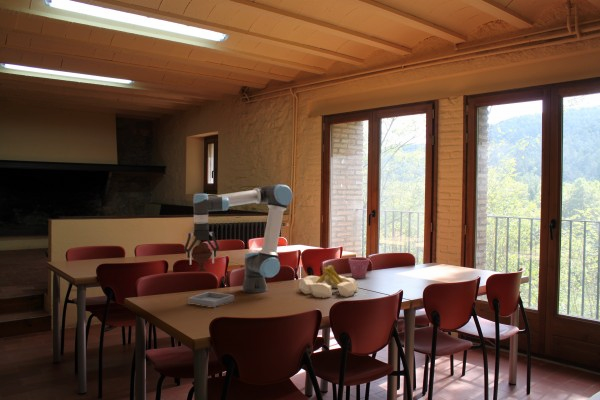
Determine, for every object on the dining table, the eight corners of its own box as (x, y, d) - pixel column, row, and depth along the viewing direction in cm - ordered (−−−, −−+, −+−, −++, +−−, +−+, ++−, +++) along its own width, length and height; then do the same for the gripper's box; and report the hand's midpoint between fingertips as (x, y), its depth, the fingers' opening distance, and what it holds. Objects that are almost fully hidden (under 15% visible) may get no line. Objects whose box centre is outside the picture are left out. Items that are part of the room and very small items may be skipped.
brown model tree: (213, 268, 270) (213, 240, 269) (210, 272, 259) (209, 243, 258) (194, 268, 270) (193, 241, 269) (189, 272, 259) (189, 243, 258)
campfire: (309, 300, 275) (309, 269, 275) (292, 287, 308) (292, 260, 307) (367, 296, 285) (367, 267, 284) (345, 285, 317) (345, 258, 317)
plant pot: (358, 274, 355) (358, 256, 354) (373, 277, 344) (373, 258, 344) (344, 276, 346) (344, 258, 345) (359, 279, 335) (359, 260, 334)
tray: (233, 301, 269) (233, 295, 269) (213, 308, 254) (213, 301, 254) (209, 297, 278) (209, 291, 277) (188, 304, 263) (188, 297, 263)
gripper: (178, 224, 257) (179, 266, 258) (224, 222, 263) (224, 263, 264) (178, 222, 264) (179, 263, 265) (222, 221, 270) (223, 261, 271)
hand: (201, 263), depth 264 cm, fingers closed on brown model tree, 11 cm apart
